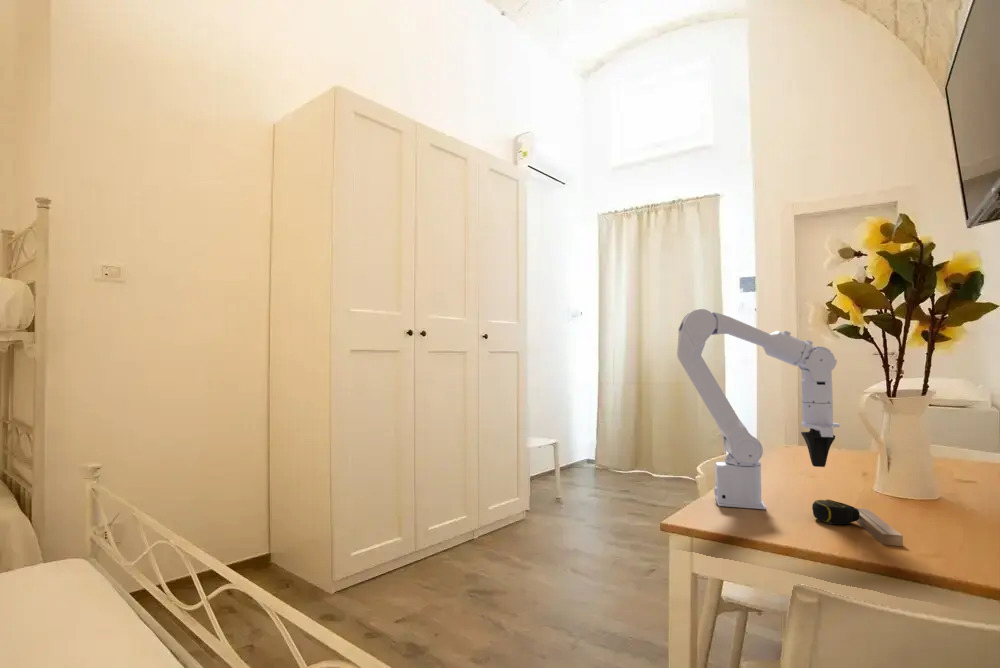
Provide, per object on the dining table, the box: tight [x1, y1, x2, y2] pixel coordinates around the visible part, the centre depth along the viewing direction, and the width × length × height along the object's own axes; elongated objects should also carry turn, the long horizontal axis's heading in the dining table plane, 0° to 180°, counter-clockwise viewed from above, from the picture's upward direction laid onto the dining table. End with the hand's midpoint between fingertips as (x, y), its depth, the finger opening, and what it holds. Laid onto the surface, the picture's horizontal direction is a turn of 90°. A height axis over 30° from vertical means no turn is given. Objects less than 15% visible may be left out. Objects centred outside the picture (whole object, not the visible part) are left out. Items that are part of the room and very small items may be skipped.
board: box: [855, 507, 904, 547], centre depth 100 cm, size 3×16×2 cm, turn 163°
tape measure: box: [811, 499, 860, 525], centre depth 105 cm, size 7×7×4 cm
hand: (818, 466), depth 114 cm, fingers closed
